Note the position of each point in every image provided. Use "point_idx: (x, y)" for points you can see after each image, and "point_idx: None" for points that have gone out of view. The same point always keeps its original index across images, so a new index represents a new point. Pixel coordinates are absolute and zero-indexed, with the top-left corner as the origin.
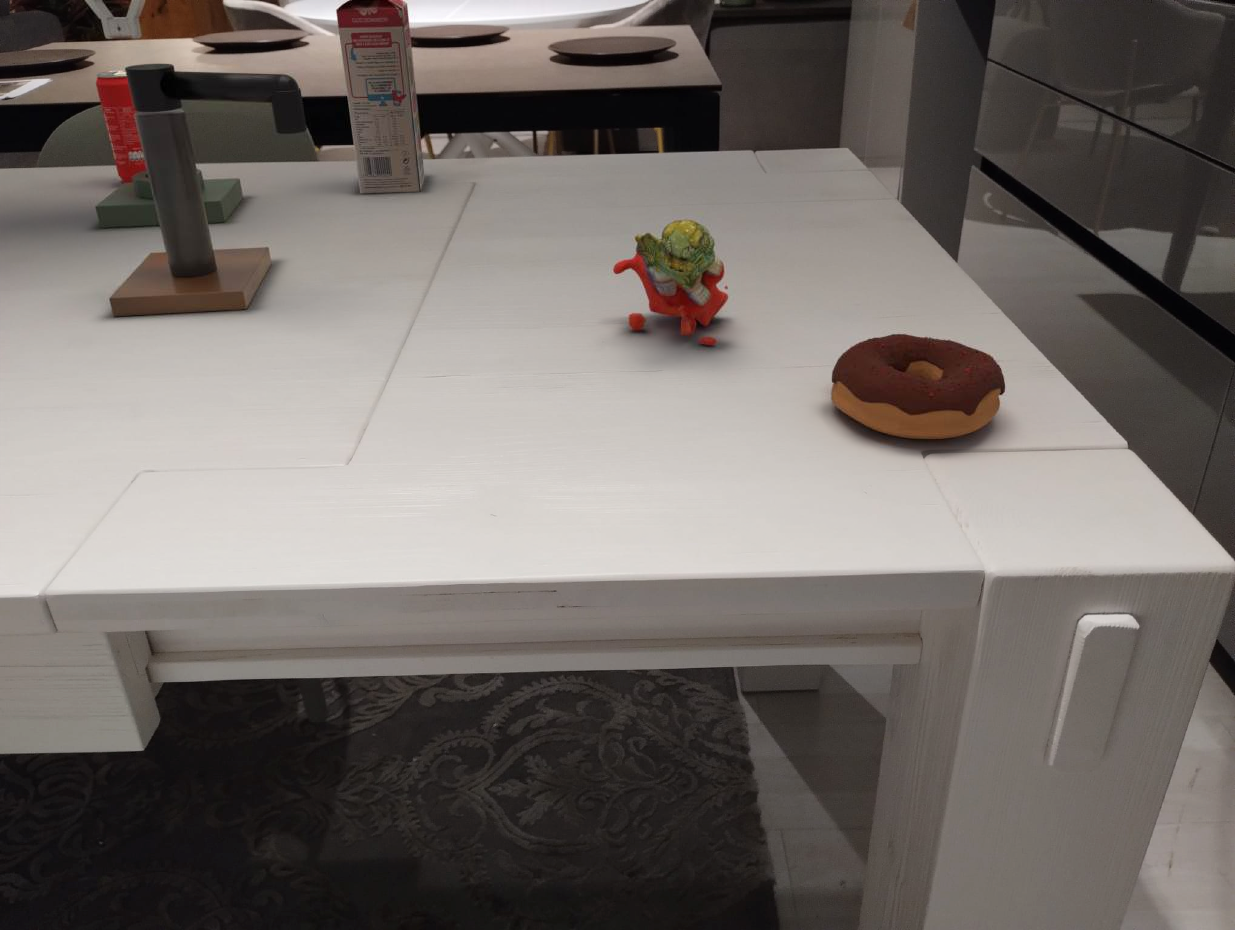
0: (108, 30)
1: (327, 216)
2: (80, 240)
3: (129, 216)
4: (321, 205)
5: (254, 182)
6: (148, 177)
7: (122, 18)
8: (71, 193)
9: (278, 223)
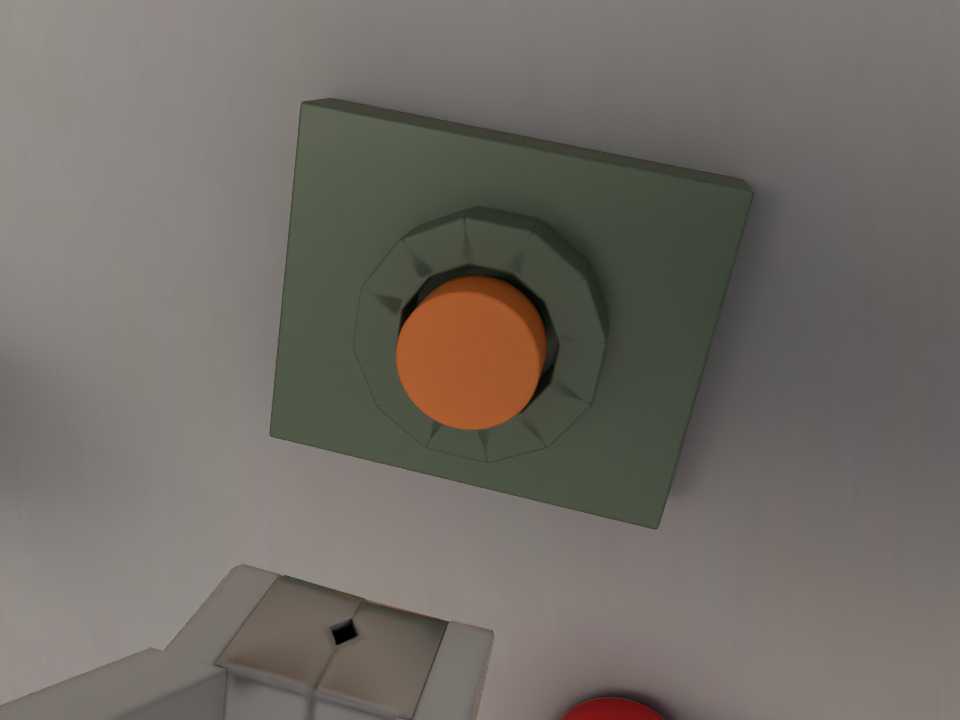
0: (443, 650)
1: (10, 58)
2: (814, 26)
3: (636, 162)
4: (46, 218)
5: None
6: (544, 331)
7: (266, 700)
8: (849, 711)
9: (154, 19)
